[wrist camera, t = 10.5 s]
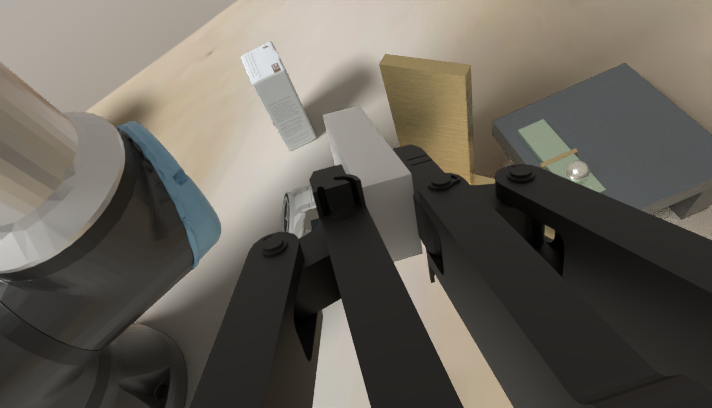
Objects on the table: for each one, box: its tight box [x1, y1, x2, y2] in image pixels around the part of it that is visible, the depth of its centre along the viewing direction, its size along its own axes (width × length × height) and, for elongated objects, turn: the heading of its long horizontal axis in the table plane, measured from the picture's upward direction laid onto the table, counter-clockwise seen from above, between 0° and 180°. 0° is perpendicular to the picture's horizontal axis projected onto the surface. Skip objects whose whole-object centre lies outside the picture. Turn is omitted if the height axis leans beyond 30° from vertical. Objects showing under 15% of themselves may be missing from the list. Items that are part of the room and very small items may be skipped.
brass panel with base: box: [379, 54, 555, 239], centre depth 37 cm, size 9×17×18 cm, turn 78°
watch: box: [282, 186, 319, 238], centre depth 42 cm, size 6×8×11 cm
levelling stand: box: [492, 63, 712, 219], centre depth 40 cm, size 14×14×9 cm
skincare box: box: [241, 41, 316, 151], centre depth 53 cm, size 6×4×12 cm
